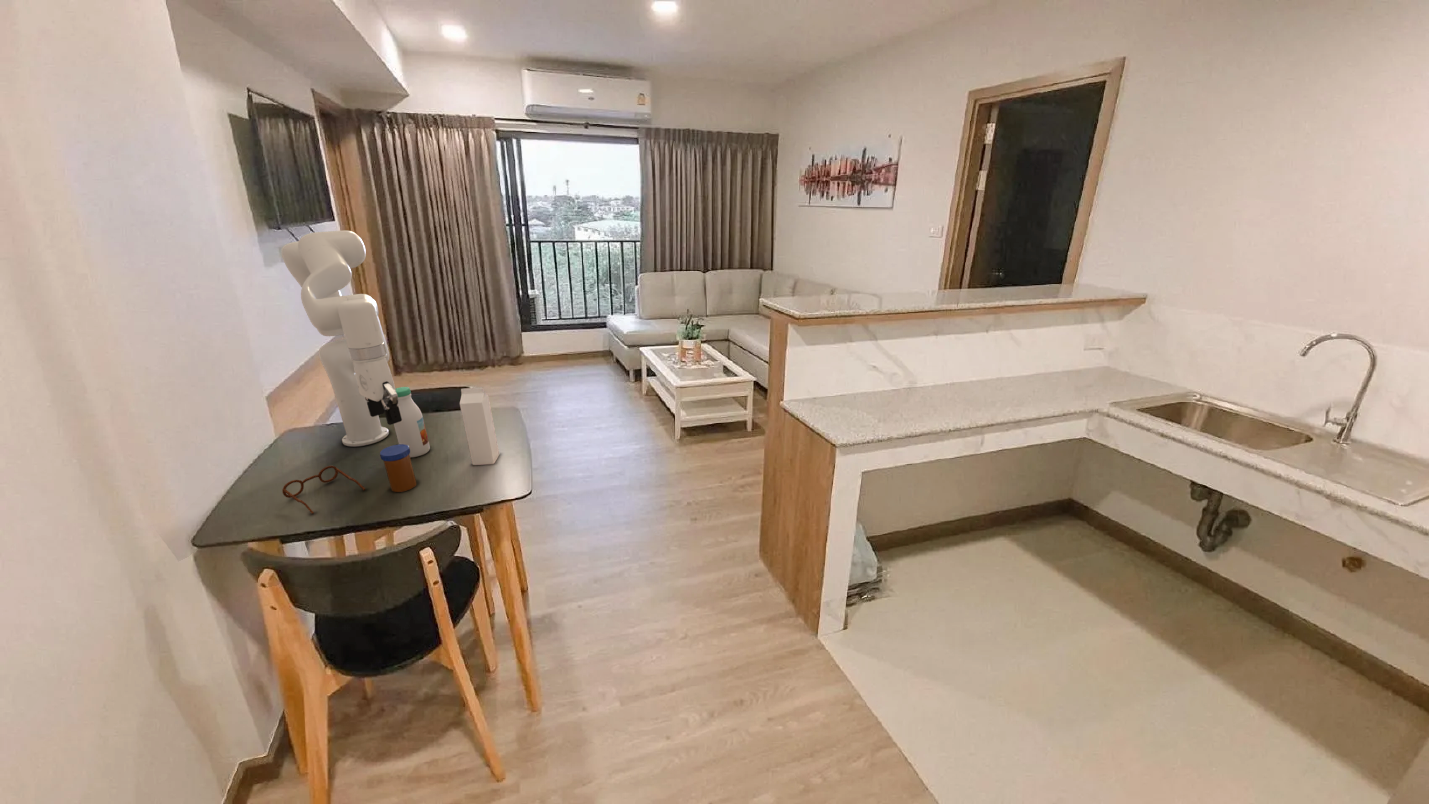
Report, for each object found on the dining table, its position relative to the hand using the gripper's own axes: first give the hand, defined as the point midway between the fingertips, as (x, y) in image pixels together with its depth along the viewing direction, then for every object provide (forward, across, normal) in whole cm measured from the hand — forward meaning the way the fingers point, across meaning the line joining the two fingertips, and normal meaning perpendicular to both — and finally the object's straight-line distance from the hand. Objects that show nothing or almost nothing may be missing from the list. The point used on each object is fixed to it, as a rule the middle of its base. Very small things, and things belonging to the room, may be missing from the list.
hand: (386, 418), depth 139 cm
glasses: (+20, -12, -14) cm, 27 cm away
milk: (+20, +5, +21) cm, 29 cm away
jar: (+20, 0, 0) cm, 20 cm away
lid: (+9, 0, 0) cm, 9 cm away
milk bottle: (+20, -17, +12) cm, 29 cm away
